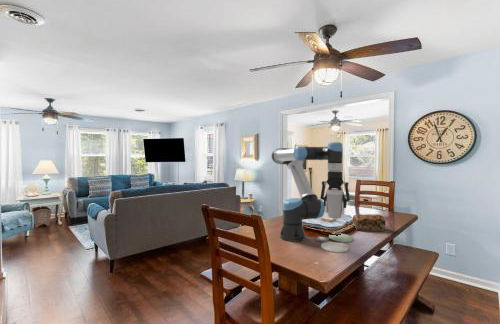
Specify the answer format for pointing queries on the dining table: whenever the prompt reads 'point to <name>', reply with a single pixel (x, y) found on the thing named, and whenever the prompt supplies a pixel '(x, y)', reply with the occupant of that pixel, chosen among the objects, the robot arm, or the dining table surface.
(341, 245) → the coaster cream
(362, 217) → the bread
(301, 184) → the robot arm
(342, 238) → the coaster sage
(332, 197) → the coffee cup
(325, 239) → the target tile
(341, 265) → the dining table surface
